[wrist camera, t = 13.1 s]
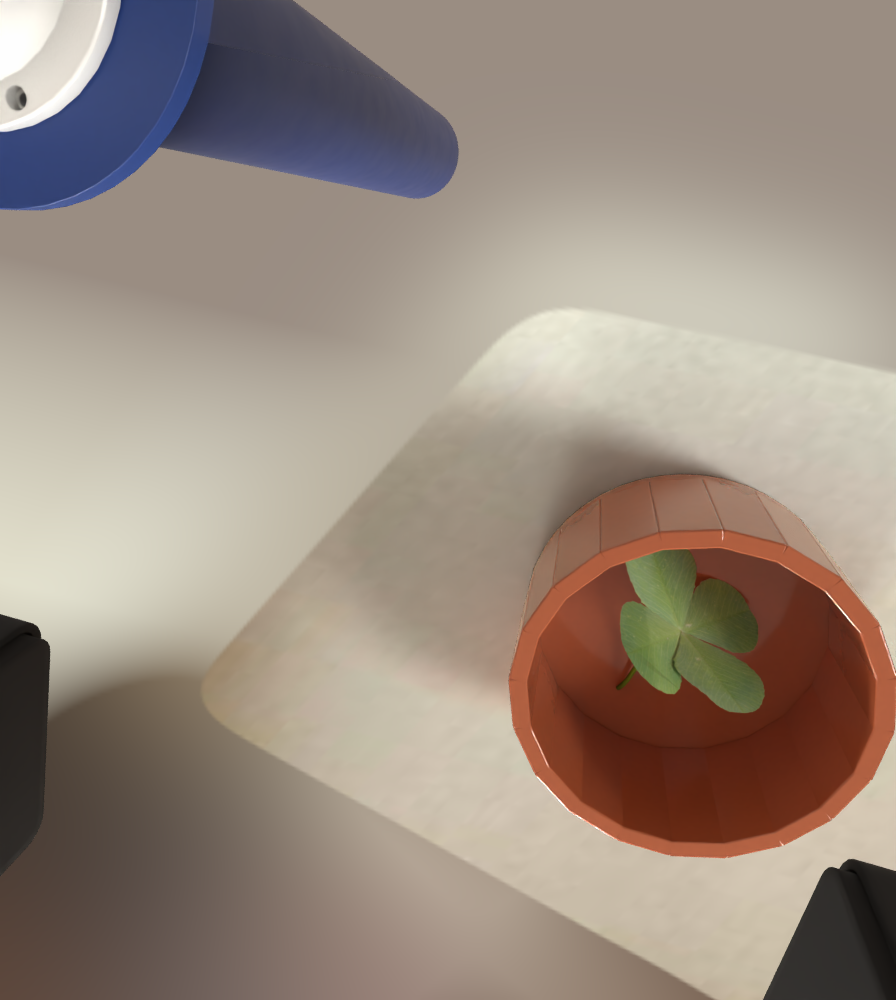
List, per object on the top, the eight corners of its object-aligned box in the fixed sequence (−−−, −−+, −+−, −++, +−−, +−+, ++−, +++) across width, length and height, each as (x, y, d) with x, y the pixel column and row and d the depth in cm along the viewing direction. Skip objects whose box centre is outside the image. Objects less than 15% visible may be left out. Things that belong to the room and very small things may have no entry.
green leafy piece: (638, 585, 40) (713, 516, 35) (717, 741, 37) (813, 690, 31) (514, 614, 37) (576, 543, 32) (588, 788, 33) (670, 740, 28)
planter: (497, 704, 39) (476, 799, 32) (567, 439, 34) (559, 487, 28) (778, 783, 37) (816, 900, 31) (890, 519, 33) (962, 589, 26)
